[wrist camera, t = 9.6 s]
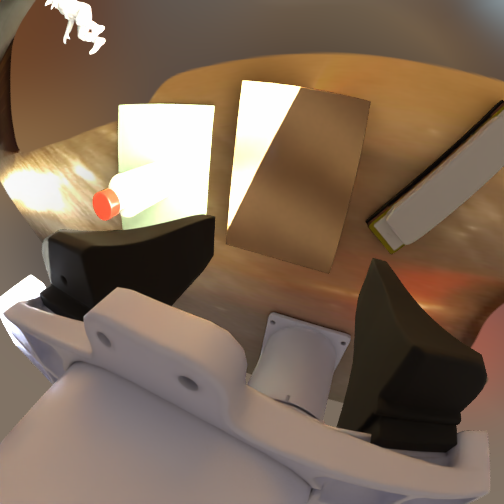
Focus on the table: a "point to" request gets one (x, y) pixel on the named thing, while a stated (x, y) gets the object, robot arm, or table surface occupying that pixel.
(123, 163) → the mat
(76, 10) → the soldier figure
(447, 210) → the harmonica
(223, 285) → the table surface
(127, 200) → the spice bottle
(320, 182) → the small bench
